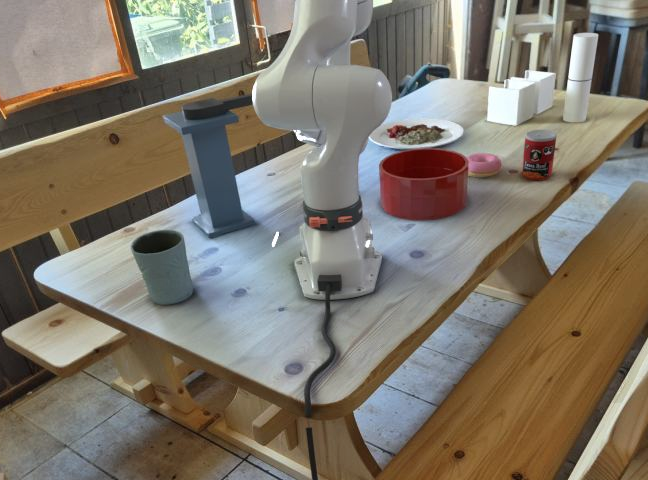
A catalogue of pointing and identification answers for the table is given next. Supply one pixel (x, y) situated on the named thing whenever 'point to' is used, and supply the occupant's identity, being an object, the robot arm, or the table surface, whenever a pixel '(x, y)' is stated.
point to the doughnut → (483, 165)
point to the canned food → (538, 154)
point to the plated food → (416, 133)
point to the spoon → (214, 107)
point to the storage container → (521, 98)
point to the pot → (424, 183)
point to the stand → (212, 172)
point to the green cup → (163, 265)
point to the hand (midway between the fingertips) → (262, 106)
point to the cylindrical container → (580, 76)
